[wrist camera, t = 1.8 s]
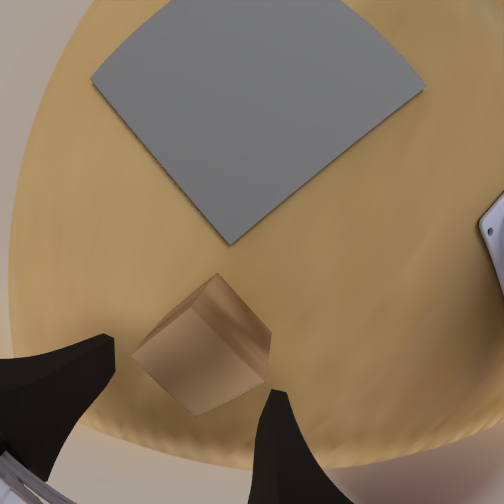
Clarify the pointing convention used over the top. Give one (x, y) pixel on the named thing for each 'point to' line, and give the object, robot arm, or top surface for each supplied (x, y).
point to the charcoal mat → (252, 96)
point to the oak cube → (207, 348)
